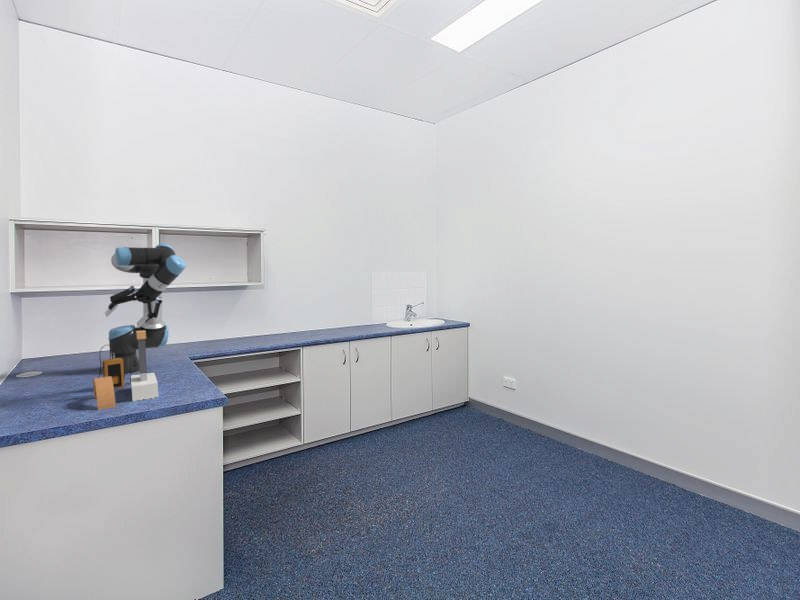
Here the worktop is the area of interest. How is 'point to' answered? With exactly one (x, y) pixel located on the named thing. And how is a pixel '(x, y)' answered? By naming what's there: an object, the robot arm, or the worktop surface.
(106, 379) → the arch
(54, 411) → the worktop surface
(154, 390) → the white rectangular slab
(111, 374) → the multimeter
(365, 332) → the worktop surface
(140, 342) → the lever
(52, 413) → the worktop surface
